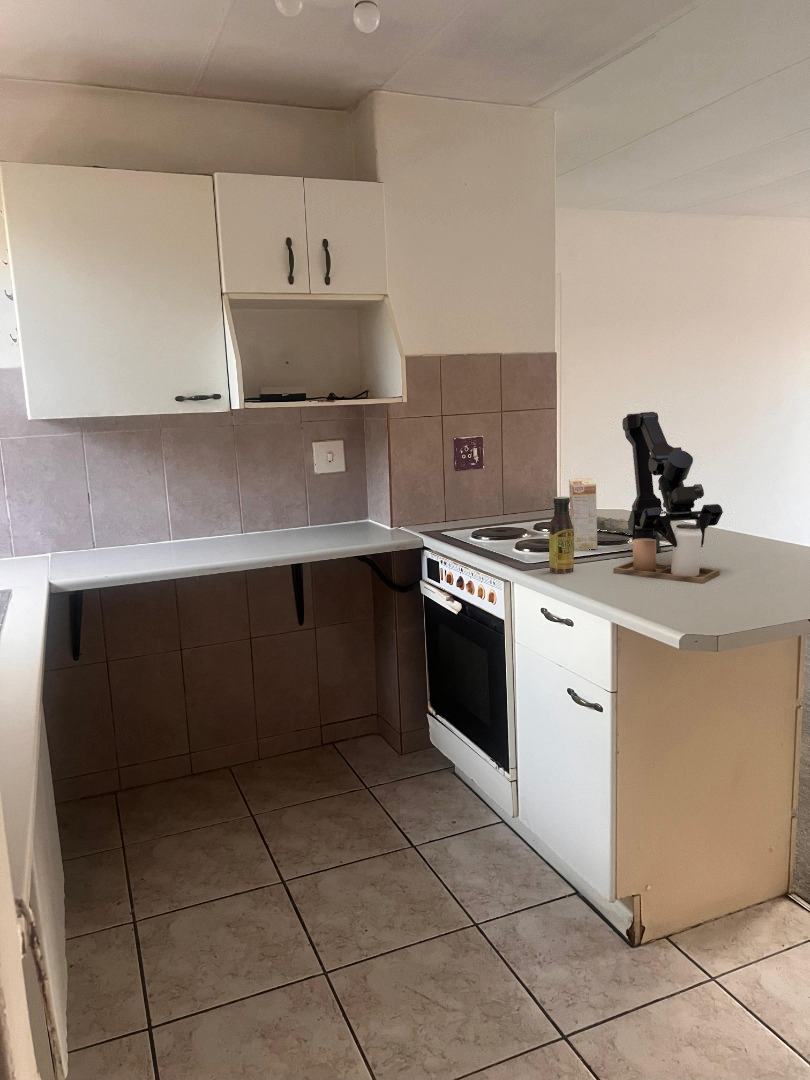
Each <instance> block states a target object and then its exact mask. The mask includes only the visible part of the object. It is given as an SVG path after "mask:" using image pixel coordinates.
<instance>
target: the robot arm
mask: <svg viewBox="0 0 810 1080" xmlns="http://www.w3.org/2000/svg"><path fill="white" fill-rule="evenodd" d="M621 422H622V429H623V431H624V436H625V439H626V440H627V441H628V443H629V444H630V445H631V447H632V448H631V449H632V459H633V468H634V480H635V491H636V496H635V499H634V501H633V503H632V505H631V511H630V514H629V518H628V520H627V521H628V529H629V530H630V531H632V532H633V536H632V541H633V540H634V539H639V538H650V539H655V540H656V553H657V552H659V551H661V550H662V549H661V547H660V544H661V543H660V541H661V540H660V536H659V535H658V533H660V534H661V535H662V536H663V537H665V538H666V539H667V540H666V541H667V542H668V543H670V545H672V547H673V546H674V547H676V546H677V542H676V538H675V535H674V530H673V528H672V527H673V526H672V523H671V522H678V521H679V522H681V521H695V525H697V526H700V527H701V528H700V530H701V532H702V541H701V547H702V546H703V545H704V543H705V531H706V529H708V527H712V526H713V527H714V526H717V525H718V523H719V521H720V519H721V517H722V515H723V513H724V511H723V508H722V506H721V505H720V504H717V503H714V504H713V503H712V504H703V505H702V508H701V510H694V511H692V509H694V507H695V501H697V500H698V499H702V498H704V496H705V493H704V487H703V484H702V483H699V484H698V483H697V484H693V486H692V485H691V486H689V485H688V486H685V484H684V481H685V480H687V478H688V476H689V473H690V471H691V468H692V465H693V464H694V463H693V462H694V458H693V456H692V455H691V454H690V453H689V452H688V451H686V450H683V449H682V447H674V446H672V445H670V444H669V443H668V441H667V439H666V437H665V434H664V431H663V428H662V426H661V425H660V422H659V415H658V412H655V411H645V412H637V413H627V414H626V417H624V418H622V421H621ZM653 476H654V477H655V476H660V477H659V479H658V480H657V482H658V491H660V494H661V498H662V500H663V503H662V500H661V498H660V497H657V495H656V494H655V492H654V481H653ZM663 508H665V510H664V509H663ZM635 525H636V527H635ZM629 552H630V553H633V548H632V549H630V550H629Z"/></svg>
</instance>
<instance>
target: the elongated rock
mask: <svg viewBox="0 0 810 1080" xmlns="http://www.w3.org/2000/svg"><path fill="white" fill-rule="evenodd" d="M635 527H636V525H635ZM597 529H600V530H607V531H616V532H623V533H627V534H630V535H633V532H632V531H630V530H629V529H628V520H626V519H624V518H619V519H615V518H612V517H608V518H607V517H601V516H597ZM658 535H659V536H660V541H668V540H667V539H666V538H665V537H663V536H662V535H661V534H660V533H658Z"/></svg>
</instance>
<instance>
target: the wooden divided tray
mask: <svg viewBox="0 0 810 1080" xmlns="http://www.w3.org/2000/svg"><path fill="white" fill-rule="evenodd" d="M612 571H613V573H612V574H617V575H626V576H634V577H640V578H650V579H660V580H666V581H668V580H670V581H677V582H685V583H694V584H701V585H702V584H705V583H707V582H709V581H711V580H713V579H715V578H717V577H719V576H721V570H720V569H716V568H715V569H714V568H703V567H700V568H699V575H698V576H697V577H692V576H683V575H675V574H672V573H671V564H668V563H666V564H665V563H657V562H656V572H648V571H639V570H633V560H631V561H628V562H626V563H623V564H622V565H621V564H620V565H618V566H616V567H613V570H612Z"/></svg>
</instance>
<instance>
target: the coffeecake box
mask: <svg viewBox="0 0 810 1080" xmlns="http://www.w3.org/2000/svg"><path fill="white" fill-rule="evenodd" d="M568 483H569V484H568V485H569V486H568V488H569V491H568V492H569V498H570V503H569V515H570V519H571V522H572V525H573V528H574V549H577V550H581V551H592V550H591V549H597V550H598V531H597V517H598V515H597V512H598V511H597V510H598V509H597V484H596V482H595V480H593V478H592V477H591V478H588V477H587V478H570V479H569V480H568ZM589 549H590V550H589Z"/></svg>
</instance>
